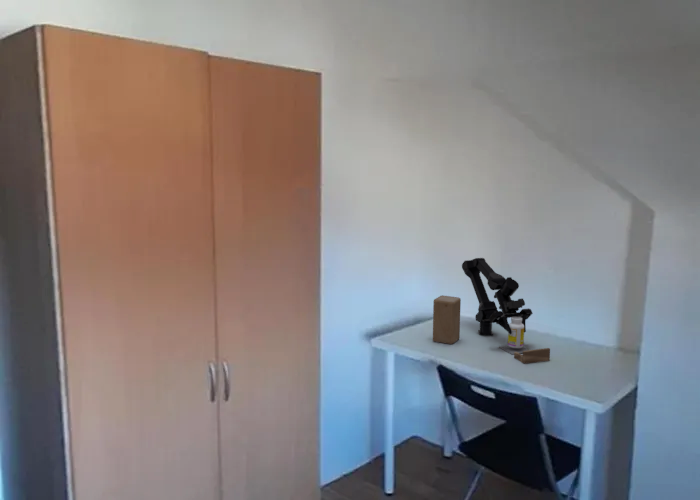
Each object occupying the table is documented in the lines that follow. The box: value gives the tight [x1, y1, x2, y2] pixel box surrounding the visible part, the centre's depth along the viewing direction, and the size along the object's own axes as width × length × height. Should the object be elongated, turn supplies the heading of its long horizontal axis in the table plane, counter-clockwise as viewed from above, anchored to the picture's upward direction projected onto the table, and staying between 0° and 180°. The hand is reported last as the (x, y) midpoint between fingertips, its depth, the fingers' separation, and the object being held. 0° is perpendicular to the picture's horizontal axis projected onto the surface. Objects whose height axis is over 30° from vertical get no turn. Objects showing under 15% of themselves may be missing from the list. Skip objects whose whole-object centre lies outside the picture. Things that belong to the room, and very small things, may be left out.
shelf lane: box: [513, 347, 551, 364], centre depth 251 cm, size 7×12×5 cm, turn 108°
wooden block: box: [432, 295, 461, 345], centre depth 275 cm, size 10×10×20 cm
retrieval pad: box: [499, 345, 529, 356], centre depth 263 cm, size 10×10×1 cm
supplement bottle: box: [507, 317, 525, 348], centre depth 262 cm, size 7×7×13 cm
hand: (517, 332), depth 260 cm, fingers closed on supplement bottle, 6 cm apart
